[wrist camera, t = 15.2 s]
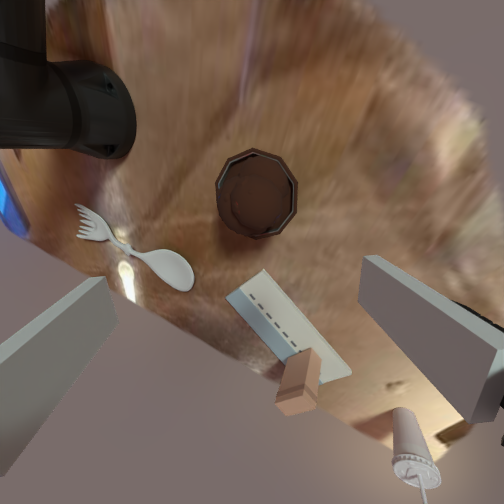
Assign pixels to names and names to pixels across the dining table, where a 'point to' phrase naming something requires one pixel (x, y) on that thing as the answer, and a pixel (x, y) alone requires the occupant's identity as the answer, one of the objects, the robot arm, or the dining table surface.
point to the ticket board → (283, 324)
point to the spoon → (160, 261)
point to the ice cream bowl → (256, 194)
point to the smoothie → (412, 453)
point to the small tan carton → (299, 383)
